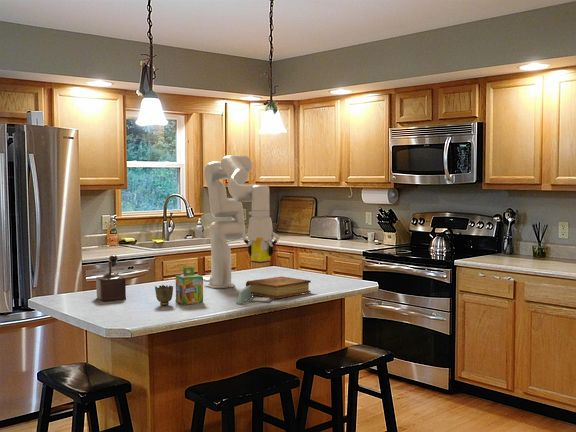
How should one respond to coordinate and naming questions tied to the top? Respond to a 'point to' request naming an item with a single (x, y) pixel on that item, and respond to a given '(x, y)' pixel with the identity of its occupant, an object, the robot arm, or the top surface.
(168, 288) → the cup
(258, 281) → the diary
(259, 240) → the supplement box
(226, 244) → the robot arm
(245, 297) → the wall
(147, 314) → the top surface
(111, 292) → the coffee grinder
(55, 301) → the top surface
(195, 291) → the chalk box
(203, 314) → the top surface
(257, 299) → the coaster
